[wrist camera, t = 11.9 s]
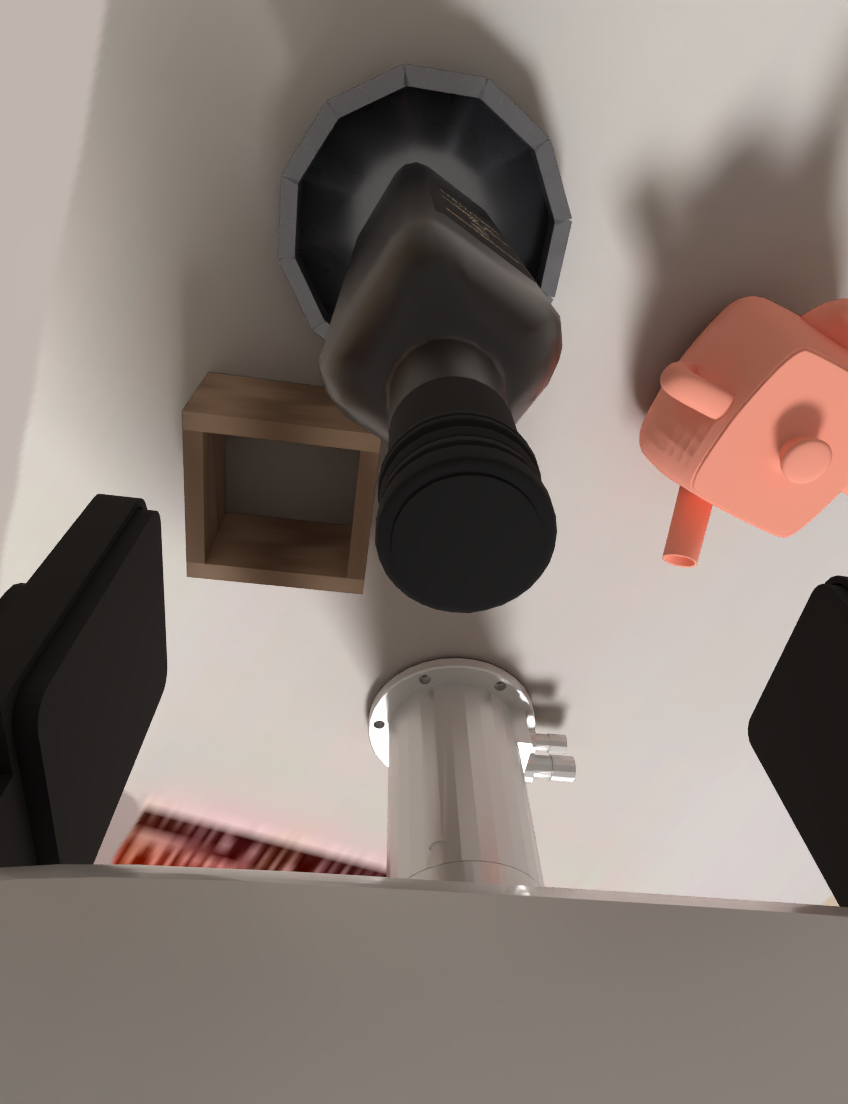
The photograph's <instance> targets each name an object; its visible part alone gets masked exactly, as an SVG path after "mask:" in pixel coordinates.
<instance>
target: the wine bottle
mask: <svg viewBox="0 0 848 1104" xmlns="http://www.w3.org/2000/svg"><path fill="white" fill-rule="evenodd" d="M561 350H562V333H561V321H560V316H559V314H558V313H557V312H556V310H555V309H554V307H553V306H552V305H551V303H550V302H549V300H548V299H547V297H546V296H545V295H544V293H543V292H542V290H541V289H540V287H539V286H538V285H537V283H536V282H535V280H534V279H533V277H532V276H531V275H530V273H529V272H528V270H527V269H526V268H525V266H524V265H523V263H522V262H521V260H520V259H519V258H518V256H517V255H516V253H515V252H514V250H513V249H512V248H511V246H510V245H509V243H508V242H507V241H506V239H505V238H504V236H503V235H502V233H501V232H500V231H499V229H498V228H497V226H496V225H495V223H494V222H493V221H492V219H491V218H490V217H489V215H488V214H487V212H486V211H485V210H484V209H482V208H481V207H480V206H479V205H477V204H476V203H475V202H473V201H472V200H471V199H470V198H468V197H467V196H466V195H464V194H463V193H462V192H461V191H459V190H458V189H457V188H455V187H454V186H453V185H451V184H450V183H449V182H448V181H446V180H445V179H444V178H442V177H441V176H440V175H439V174H437V173H436V172H435V171H433V170H432V169H431V168H430V167H428V166H426V165H423V164H421V163H418V162H414V163H409V164H404V165H403V166H402V167H401V168H400V169H399V170H398V171H397V172H396V173H395V175H394V176H393V178H392V180H391V182H390V183H389V185H388V187H387V188H386V190H385V192H384V193H383V195H382V197H381V198H380V200H379V202H378V203H377V205H376V207H375V208H374V210H373V212H372V213H371V215H370V217H369V218H368V220H367V222H366V223H365V225H364V227H363V228H362V230H361V232H360V233H359V235H358V237H357V240H356V243H355V247H354V250H353V253H352V256H351V259H350V262H349V266H348V269H347V272H346V275H345V278H344V281H343V285H342V288H341V291H340V294H339V297H338V300H337V304H336V307H335V310H334V313H333V316H332V319H331V323H330V326H329V329H328V332H327V335H326V338H325V342H324V345H323V348H322V352H321V355H320V359H319V362H318V363H319V367H320V372H321V376H322V380H323V384H324V388H325V390H326V392H327V394H328V395H329V397H330V398H331V399H332V400H333V402H334V403H335V404H336V405H337V407H338V408H339V409H340V410H341V411H342V413H343V414H344V415H345V416H346V417H347V418H349V419H350V420H352V421H353V422H355V423H356V424H358V425H360V426H361V427H363V428H364V429H366V430H368V431H369V432H371V433H372V434H374V435H375V436H377V437H379V438H380V439H382V440H383V441H385V442H387V443H388V453H387V455H386V457H385V459H384V461H383V463H382V466H381V471H380V476H379V483H378V503H379V507H378V512H377V517H376V536H375V545H376V549H377V552H378V556H379V560H380V562H381V564H382V566H383V568H384V570H385V573H386V575H387V576H388V577H389V578H390V579H391V581H392V582H393V583H394V584H395V586H396V587H397V588H399V589H400V590H401V591H402V592H403V593H404V594H405V595H407V596H408V597H410V598H411V599H413V600H415V601H417V602H419V603H421V604H423V605H426V606H428V607H431V608H434V609H437V610H442V611H448V612H460V613H472V612H477V611H483V610H488V609H491V608H494V607H497V606H501V605H503V604H505V603H507V602H509V601H511V600H513V599H515V598H517V597H518V596H519V595H521V594H522V593H524V592H525V591H526V590H528V589H529V588H530V587H531V586H532V585H533V584H534V583H535V582H536V581H537V580H538V579H539V577H540V576H541V575H542V573H543V572H544V570H545V569H546V567H547V566H548V564H549V562H550V560H551V557H552V554H553V551H554V548H555V542H556V534H557V526H556V515H555V512H554V509H553V506H552V502H551V499H550V497H549V494H548V491H547V489H546V488H545V486H544V485H543V483H542V481H541V474H540V471H539V467H538V464H537V461H536V458H535V455H534V453H533V452H532V450H531V448H530V447H529V445H528V444H527V442H526V441H525V440H524V439H523V437H522V436H521V435H520V434H519V433H518V432H517V429H516V426H515V424H516V423H517V422H518V421H519V419H520V418H521V417H522V416H523V414H524V413H525V412H526V411H527V409H528V408H529V407H530V406H531V405H532V403H533V402H534V401H535V400H536V398H537V397H538V396H539V395H540V393H541V392H542V391H543V390H544V388H545V387H546V386H547V385H548V383H549V381H550V379H551V377H552V375H553V372H554V370H555V368H556V366H557V364H558V361H559V358H560V354H561Z"/></svg>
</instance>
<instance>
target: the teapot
mask: <svg viewBox="0 0 848 1104" xmlns="http://www.w3.org/2000/svg"><path fill="white" fill-rule="evenodd" d="M660 384H661V389H660V391H659V392H658V394H657V396H656V398H655V399H654V401H653V403H652V405H651V406H650V408H649V410H648V412H647V414H646V416H645V418H644V421H643V423H642V426H641V430H640V447H641V450H642V452H643V454H644V455H645V456H646V457H647V459H648V460H649V461H650V462H651V463H652V464H653V465H654V466H655V467H656V468H657V469H658V470H659V471H660V472H661V473H663V474H664V475H665V476H666V477H668V478H669V479H671V480H673V481H674V482H676V483H677V484H679V485H680V488H679V492H678V496H677V500H676V504H675V508H674V512H673V517H672V521H671V525H670V529H669V533H668V537H667V541H666V545H665V549H664V553H663V560H664V561H666V562H667V563H669V564H672V565H675V566H679V567H695V566H696V565H697V562H698V558H699V554H700V550H701V547H702V543H703V539H704V535H705V532H706V528H707V524H708V520H709V517H710V513H711V509H712V505H714V506H716V507H718V508H720V509H721V510H723V511H725V512H727V513H729V514H731V515H733V516H735V517H737V518H739V519H741V520H743V521H745V522H747V523H749V524H751V525H753V526H755V527H757V528H760V529H762V530H764V531H766V532H768V533H771V534H773V535H776V536H779V537H788V536H790V535H793V534H794V533H796V532H797V531H798V530H800V529H801V528H802V527H804V526H805V525H806V524H807V523H808V522H810V521H811V520H812V519H813V518H814V517H815V516H816V515H817V514H819V513H820V512H821V511H822V510H823V509H824V508H825V507H826V506H827V505H828V504H829V503H830V502H831V501H832V500H833V499H834V498H835V497H836V496H837V495H838V494H839V493H840V492H841V491H842V492H843V493H845V494H846V495H848V299H838V300H834V301H830V302H826V303H824V304H822V305H820V306H817V307H815V308H813V309H812V310H810V311H808V312H807V313H805V314H803V315H802V316H799V315H797V314H795V313H793V312H791V311H790V310H788V309H786V308H784V307H782V306H780V305H778V304H776V303H774V302H772V301H770V300H768V299H766V298H761V297H757V296H748V297H743V298H740V299H738V300H735V301H734V302H732V303H731V304H729V305H728V306H727V307H726V308H725V309H723V310H722V311H721V312H720V313H719V315H718V316H717V317H716V318H715V319H714V320H712V321H711V322H710V324H709V325H708V326H707V327H706V329H705V330H704V331H703V332H702V333H701V334H700V335H699V336H698V338H697V339H696V340H695V341H694V342H693V343H692V345H691V346H690V347H689V348H688V349H687V351H686V352H685V353H684V354H683V356H682V357H681V358H680V360H679V361H678V362H674V363H671V364H670V365H668V366H667V367H666V368H665V369H664V371H663V372H662V374H661V377H660Z"/></svg>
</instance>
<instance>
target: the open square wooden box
mask: <svg viewBox="0 0 848 1104" xmlns="http://www.w3.org/2000/svg"><path fill="white" fill-rule="evenodd" d="M182 430H183V463H184V496H185V529H186V562H187V577H195V578H205V579H215V580H225V581H235V582H245V583H255V584H265V585H275V586H285V587H295V588H305V589H315V590H325V591H335V592H345V593H355V594H363V586H364V578H365V570H366V561H367V553H368V545H369V536H370V528H371V520H372V511H373V503H374V495H375V486H376V478H377V470H378V461H379V453H380V445H381V439H380V438H379V437H377V436H375V435H374V434H372V433H371V432H369V431H368V430H366V429H364V428H363V427H361V426H360V425H358V424H356V423H355V422H353V421H352V420H350V419H349V418H347V417H346V416H345V415H344V414H343V413H342V411H341V410H340V409H339V408H338V407H337V405H336V404H335V403H334V402H333V400H332V399H331V398H330V397H329V395H328V394H327V392H326V390H325V388H324V387H321V386H313V385H305V384H297V383H289V382H281V381H273V380H266V379H258V378H250V377H242V376H234V375H226V374H218V373H210V372H208V374H207V375H206V376H205V378H204V379H203V381H202V382H201V384H200V385H199V387H198V388H197V390H196V391H195V392H194V394H193V395H192V397H191V398H190V400H189V401H188V403H187V404H186V406H185V407H184V408H183V410H182ZM226 435H233V436H242V437H250V438H259V439H267V440H275V441H284V442H292V443H301V444H309V445H317V446H326V447H334V448H343V449H351V450H360V458H359V467H358V477H357V486H356V496H355V505H354V515H353V524H352V526H345V525H336V524H327V523H318V522H309V521H299V520H290V519H281V518H272V517H263V516H253V515H244V514H235V513H226Z"/></svg>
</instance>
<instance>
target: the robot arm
mask: <svg viewBox="0 0 848 1104" xmlns="http://www.w3.org/2000/svg"><path fill="white" fill-rule="evenodd" d="M166 677H167V649H166V627H165V605H164V583H163V561H162V539H161V520H160V515H159V513H158V511H153V510H147V507H146V504H145V501H144V500H143V499H141V498H132V497H123V496H114V495H105V494H97V495H96V496H95V497H94V498H93V499H92V501H91V502H90V503H89V504H88V506H87V507H86V508H85V509H84V511H83V512H82V513H81V515H80V516H79V517H78V518H77V520H76V521H75V522H74V523H73V525H72V526H71V527H70V528H69V530H68V531H67V532H66V534H65V535H64V536H63V537H62V539H61V540H60V541H59V542H58V544H57V545H56V546H55V548H54V549H53V550H52V551H51V553H50V554H49V555H48V556H47V558H46V559H45V560H44V561H43V563H42V564H41V565H40V567H39V568H38V569H37V570H36V572H35V573H34V574H33V575H32V577H31V578H30V579H29V580H28V582H27V583H19V584H15V585H13V586H12V587H11V588H10V589H8V590H7V591H6V592H5V593H4V595H3V596H2V597H1V598H0V1104H848V577H845V576H834V577H831V578H830V579H829V580H827V581H826V582H825V584H821V585H818V586H817V587H816V588H815V589H814V590H813V592H812V594H811V596H810V598H809V600H808V602H807V604H806V606H805V608H804V610H803V612H802V614H801V616H800V618H799V620H798V622H797V624H796V626H795V628H794V630H793V632H792V634H791V636H790V638H789V640H788V642H787V644H786V646H785V649H784V651H783V653H782V655H781V657H780V659H779V661H778V663H777V665H776V667H775V669H774V671H773V673H772V675H771V677H770V679H769V681H768V683H767V685H766V687H765V689H764V691H763V693H762V695H761V697H760V699H759V701H758V703H757V705H756V708H755V710H754V712H753V714H752V716H751V718H750V721H749V725H748V736H749V741H750V743H751V746H752V748H753V749H754V751H755V753H756V755H757V757H758V758H759V760H760V762H761V764H762V766H763V768H764V769H765V771H766V773H767V775H768V777H769V778H770V780H771V782H772V784H773V786H774V788H775V789H776V791H777V793H778V795H779V797H780V799H781V800H782V802H783V804H784V806H785V808H786V809H787V811H788V813H789V815H790V817H791V819H792V820H793V822H794V824H795V826H796V828H797V829H798V831H799V833H800V835H801V837H802V839H803V840H804V842H805V844H806V846H807V848H808V849H809V851H810V853H811V855H812V857H813V859H814V860H815V862H816V864H817V866H818V868H819V870H820V871H821V873H822V875H823V877H824V879H825V880H826V882H827V884H828V886H829V888H830V890H831V891H832V893H833V895H834V897H835V899H836V900H837V902H838V904H839V906H840V907H837V906H823V905H809V904H795V903H781V902H766V901H751V900H737V899H722V898H707V897H692V896H677V895H662V894H647V893H631V892H616V891H600V890H585V889H569V888H554V887H544V881H543V876H542V870H541V865H540V859H539V854H538V848H537V843H536V837H535V832H534V826H533V821H532V815H531V810H530V804H529V799H528V794H527V788H526V783H531V782H532V780H533V778H538V779H548V781H558V782H573V780H574V778H575V773H576V765H575V760H574V758H573V757H572V756H562V755H550V754H549V756H544V755H534V752H535V751H547V752H549V753H561V754H565V752H566V749H567V738H566V736H565V735H558V734H536V732H535V723H536V722H535V715H534V709H533V706H532V702H531V699H530V697H529V695H528V693H527V692H526V690H525V688H524V687H523V686H522V685H521V684H520V683H519V682H518V681H517V679H516V678H515V677H513V676H512V675H510V674H509V673H507V672H506V671H504V670H503V669H501V668H498V667H496V666H494V665H491V664H489V663H485V662H481V661H477V660H473V659H463V658H448V659H438V660H433V661H428V662H424V663H421V664H418V665H415V666H413V667H410V668H408V669H406V670H404V671H403V672H401V673H399V674H397V675H396V676H395V677H393V678H392V679H391V680H390V681H389V682H387V683H386V684H385V685H384V686H383V688H382V689H381V690H380V691H379V693H378V694H377V695H376V697H375V699H374V701H373V703H372V705H371V709H370V714H369V721H368V733H369V739H370V743H371V745H372V748H373V750H374V752H375V754H376V755H377V756H378V757H379V759H380V760H381V761H382V763H383V764H385V765H386V766H387V767H388V822H387V877H373V876H357V875H340V874H324V873H307V872H290V871H267V870H244V869H221V868H199V867H176V866H153V865H93V863H94V861H95V858H96V856H97V854H98V851H99V848H100V846H101V844H102V841H103V839H104V836H105V834H106V831H107V829H108V827H109V824H110V821H111V819H112V816H113V814H114V812H115V809H116V807H117V804H118V802H119V800H120V797H121V795H122V792H123V790H124V787H125V785H126V782H127V780H128V777H129V775H130V773H131V770H132V768H133V765H134V763H135V760H136V758H137V755H138V753H139V750H140V748H141V745H142V743H143V741H144V738H145V736H146V733H147V731H148V728H149V726H150V723H151V721H152V718H153V716H154V714H155V711H156V709H157V706H158V704H159V701H160V699H161V696H162V694H163V691H164V687H165V683H166Z"/></svg>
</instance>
